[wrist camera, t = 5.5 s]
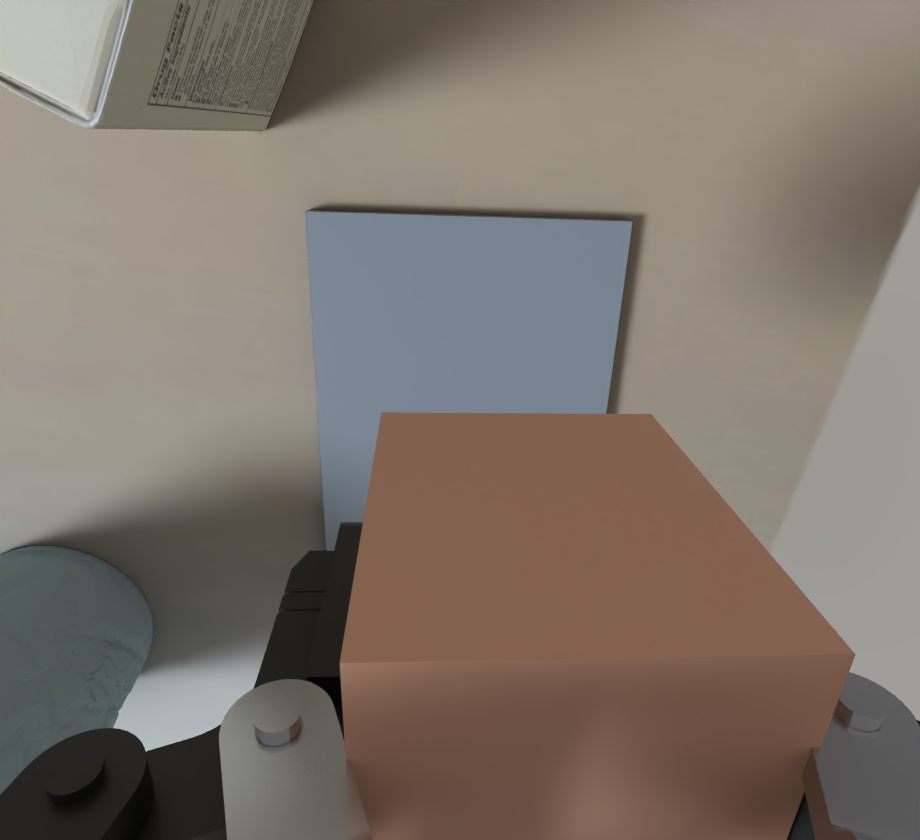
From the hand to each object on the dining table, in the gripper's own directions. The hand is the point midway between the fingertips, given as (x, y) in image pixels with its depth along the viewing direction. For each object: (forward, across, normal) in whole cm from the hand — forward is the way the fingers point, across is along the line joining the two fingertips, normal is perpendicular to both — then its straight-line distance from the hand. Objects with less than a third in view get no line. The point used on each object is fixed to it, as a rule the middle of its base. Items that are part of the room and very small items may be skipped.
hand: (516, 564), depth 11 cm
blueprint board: (+15, 0, +8) cm, 17 cm away
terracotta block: (+1, 0, 0) cm, 1 cm away
